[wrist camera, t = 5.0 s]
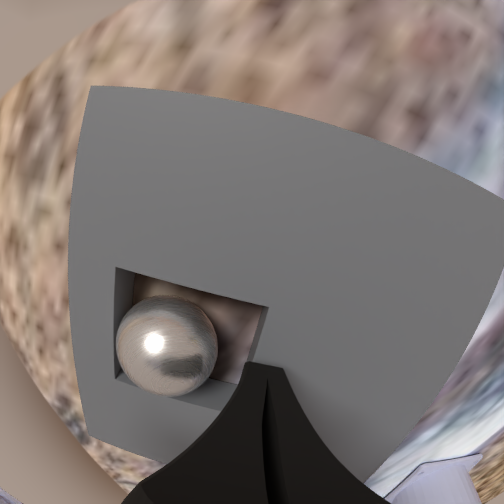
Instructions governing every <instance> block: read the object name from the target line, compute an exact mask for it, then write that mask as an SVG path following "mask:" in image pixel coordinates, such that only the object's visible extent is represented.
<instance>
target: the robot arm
mask: <svg viewBox="0 0 504 504" xmlns="http://www.w3.org/2000/svg"><path fill="white" fill-rule="evenodd" d="M482 457H483V456H482V454H477V455H472V456H467V457H462V458H457V459H452V460H446V461H439V462H432V463H425V464H422V465H421V466H419V467H418V468H417V469H416V470H415V471H414V472H413V473H412V474H411V475H410V476H409V477H408V478H407V479H406V480H405V481H404V482H403V483H401V484H400V485H399V486H398V487H397V488H396V489H395V490H394V491H393V492H391V493H390V494H389V495H388V496H387V497H386V498H382V497H381V496H379V495H378V494H376V493H375V492H373V491H372V490H371V489H369V488H368V487H367V486H366V485H364V484H363V483H362V482H361V481H360V480H358V479H357V478H356V477H355V476H354V475H353V474H352V473H351V472H350V471H349V470H348V469H347V468H346V467H345V466H344V465H343V464H342V463H341V462H340V461H339V460H338V459H337V458H336V457H335V456H334V455H333V453H332V452H331V451H330V450H329V449H328V447H327V446H326V445H325V443H324V442H323V441H322V439H321V438H320V437H319V435H318V434H317V432H316V431H315V429H314V428H313V426H312V424H311V423H310V421H309V420H308V418H307V416H306V414H305V413H304V411H303V409H302V407H301V405H300V403H299V402H298V400H297V398H296V396H295V394H294V391H293V389H292V387H291V385H290V383H289V380H288V378H287V376H286V373H285V371H284V369H283V368H280V367H275V366H270V365H265V364H260V363H256V362H251V361H248V362H246V363H245V365H244V368H243V372H242V375H241V378H240V381H239V384H238V386H237V387H236V389H235V391H234V393H233V394H232V396H231V398H230V399H229V401H228V402H227V404H226V405H225V407H224V408H223V409H222V411H221V412H220V414H219V415H218V416H217V417H216V419H215V420H214V421H213V422H212V423H211V425H210V426H209V427H208V428H207V429H206V430H205V431H204V432H203V433H202V434H201V435H200V436H199V437H198V438H197V439H196V440H195V441H194V442H193V443H192V444H191V445H190V446H189V447H188V448H187V449H186V450H185V451H183V452H182V453H181V454H180V455H178V456H177V457H176V458H175V459H173V460H172V461H171V462H169V463H168V464H167V465H165V466H164V467H163V468H161V469H160V470H158V471H156V472H155V473H153V474H152V475H150V476H149V477H147V478H145V479H144V480H142V481H140V482H139V484H138V485H137V486H136V487H135V488H134V489H133V490H132V491H131V492H130V493H129V494H128V496H127V497H126V498H125V499H124V501H123V502H122V503H121V504H482V503H481V501H480V498H479V496H478V494H477V491H476V489H475V487H474V484H473V482H472V480H471V478H470V475H469V473H468V472H469V471H470V470H471V469H472V468H473V467H474V466H475V465H476V464H477V463H478V462H479V461H480V460H481V459H482ZM0 504H23V503H21V502H20V501H18V500H16V499H15V498H14V497H13V496H11V495H10V494H8V493H7V492H6V491H4V490H3V489H1V488H0Z"/></svg>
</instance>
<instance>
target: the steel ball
mask: <svg viewBox="0 0 504 504" xmlns="http://www.w3.org/2000/svg"><path fill="white" fill-rule="evenodd" d="M116 351H117V356H118V360H119V363H120V365H121V367H122V369H123V371H124V372H125V374H126V375H127V376H128V378H129V379H130V380H131V381H132V382H133V383H134V384H136V385H137V386H138V387H139V388H141V389H143V390H145V391H146V392H149V393H151V394H154V395H158V396H164V397H173V396H180V395H184V394H187V393H189V392H191V391H193V390H195V389H197V388H198V387H199V386H201V385H202V384H203V383H204V382H205V381H206V380H207V378H208V377H209V376H210V374H211V373H212V371H213V368H214V366H215V364H216V360H217V355H218V343H217V336H216V333H215V330H214V327H213V325H212V323H211V321H210V320H209V318H208V317H207V316H206V314H205V313H204V312H203V311H202V310H201V309H200V308H199V307H197V306H196V305H195V304H193V303H191V302H190V301H188V300H186V299H183V298H180V297H176V296H171V295H158V296H153V297H149V298H146V299H144V300H142V301H140V302H139V303H137V304H136V305H134V306H133V307H132V308H131V309H130V310H129V311H128V312H127V313H126V315H125V316H124V317H123V319H122V321H121V323H120V325H119V328H118V331H117V336H116Z"/></svg>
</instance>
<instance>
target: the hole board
mask: <svg viewBox="0 0 504 504" xmlns="http://www.w3.org/2000/svg"><path fill="white" fill-rule="evenodd" d="M503 267H504V200H503V199H502V198H500V197H498V196H496V195H495V194H493V193H491V192H489V191H488V190H486V189H484V188H482V187H480V186H478V185H476V184H475V183H473V182H471V181H469V180H467V179H465V178H463V177H461V176H459V175H457V174H455V173H453V172H451V171H449V170H447V169H445V168H442V167H440V166H438V165H436V164H434V163H432V162H429V161H427V160H425V159H422V158H420V157H418V156H416V155H413V154H411V153H408V152H406V151H403V150H401V149H399V148H396V147H393V146H391V145H388V144H386V143H383V142H380V141H378V140H375V139H372V138H369V137H367V136H364V135H361V134H358V133H355V132H352V131H349V130H346V129H343V128H340V127H337V126H334V125H330V124H327V123H324V122H320V121H317V120H313V119H310V118H306V117H303V116H299V115H295V114H291V113H287V112H283V111H279V110H275V109H271V108H267V107H262V106H258V105H253V104H248V103H243V102H238V101H233V100H228V99H222V98H216V97H210V96H204V95H197V94H190V93H183V92H175V91H166V90H157V89H146V88H133V87H115V86H91V88H90V91H89V95H88V100H87V104H86V108H85V113H84V117H83V122H82V127H81V132H80V138H79V143H78V149H77V156H76V162H75V169H74V177H73V186H72V196H71V207H70V221H69V242H68V289H69V310H70V324H71V335H72V345H73V353H74V361H75V368H76V375H77V381H78V387H79V393H80V398H81V403H82V408H83V413H84V417H85V422H86V426H87V430H88V434H89V435H90V436H92V437H94V438H96V439H99V440H101V441H103V442H106V443H108V444H111V445H113V446H116V447H118V448H121V449H124V450H126V451H129V452H132V453H135V454H137V455H140V456H143V457H146V458H149V459H152V460H156V461H159V462H162V463H165V464H168V463H169V462H171V461H172V460H173V459H175V458H176V457H177V456H178V455H180V454H181V453H182V452H183V451H185V450H186V449H187V448H188V447H189V446H190V445H191V444H192V443H193V442H194V441H195V440H196V439H197V438H198V437H199V436H200V435H201V434H202V433H203V432H204V431H205V430H206V429H207V428H208V427H209V426H210V425H211V423H212V422H213V421H214V420H215V419H216V417H217V416H218V415H219V414H220V412H221V411H222V409H223V408H224V407H225V405H226V404H227V402H228V401H229V399H230V398H231V396H232V394H233V393H234V391H235V389H236V387H237V386H238V385H236V384H231V383H227V382H223V381H219V380H215V379H210V378H207V380H206V381H205V382H204V383H203V384H202V385H201V386H199V387H198V388H197V389H195V390H193V391H191V392H189V393H187V394H184V395H180V396H173V397H164V396H158V395H154V394H151V393H149V392H146V391H145V390H143V389H141V388H139V387H138V386H137V385H136V384H134V383H133V382H132V381H131V380H130V379H129V378H128V376H127V375H126V374H125V372H124V371H123V369H122V367H121V365H120V363H119V360H118V356H117V351H116V336H117V331H118V328H119V325H120V323H121V321H122V319H123V317H124V316H125V315H126V313H127V312H128V311H129V310H130V309H131V308H132V303H133V289H134V276H135V273H139V274H142V275H146V276H149V277H153V278H157V279H160V280H164V281H167V282H171V283H175V284H178V285H182V286H186V287H190V288H194V289H197V290H201V291H205V292H209V293H213V294H217V295H221V296H225V297H229V298H233V299H237V300H241V301H245V302H249V303H254V304H258V305H262V306H263V308H262V312H261V315H260V319H259V322H258V326H257V329H256V332H255V336H254V339H253V343H252V346H251V349H250V353H249V356H248V359H247V362H248V361H251V362H256V363H260V364H265V365H270V366H275V367H280V368H283V369H284V371H285V373H286V376H287V378H288V380H289V383H290V385H291V387H292V389H293V391H294V394H295V396H296V398H297V400H298V402H299V403H300V405H301V407H302V409H303V411H304V413H305V414H306V416H307V418H308V420H309V421H310V423H311V424H312V426H313V428H314V429H315V431H316V432H317V434H318V435H319V437H320V438H321V439H322V441H323V442H324V443H325V445H326V446H327V447H328V449H329V450H330V451H331V452H332V453H333V455H334V456H335V457H336V458H337V459H338V460H339V461H340V462H341V463H342V464H343V465H344V466H345V467H346V468H347V469H348V470H349V471H350V472H351V473H352V474H353V475H354V476H355V477H356V478H357V479H358V480H360V481H361V482H362V483H364V482H365V481H366V480H367V479H368V478H369V477H370V476H371V475H372V474H373V473H374V472H375V471H376V470H377V469H378V468H379V467H380V466H381V465H382V464H383V463H384V462H385V461H386V459H387V458H388V457H389V456H390V455H391V454H392V453H393V452H394V451H395V449H396V448H397V447H398V446H399V445H400V444H401V442H402V441H403V440H404V439H405V438H406V436H407V435H408V434H409V433H410V431H411V430H412V429H413V428H414V426H415V425H416V424H417V422H418V421H419V420H420V419H421V417H422V416H423V415H424V413H425V412H426V410H427V409H428V408H429V406H430V405H431V404H432V402H433V401H434V399H435V398H436V396H437V395H438V393H439V392H440V390H441V389H442V387H443V386H444V384H445V383H446V381H447V380H448V378H449V377H450V375H451V373H452V372H453V370H454V369H455V367H456V365H457V364H458V362H459V360H460V358H461V357H462V355H463V353H464V351H465V350H466V348H467V346H468V344H469V342H470V341H471V339H472V337H473V335H474V333H475V331H476V329H477V327H478V325H479V323H480V321H481V319H482V317H483V315H484V313H485V311H486V308H487V306H488V304H489V302H490V299H491V297H492V295H493V293H494V290H495V288H496V285H497V283H498V280H499V278H500V275H501V273H502V270H503Z"/></svg>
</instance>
